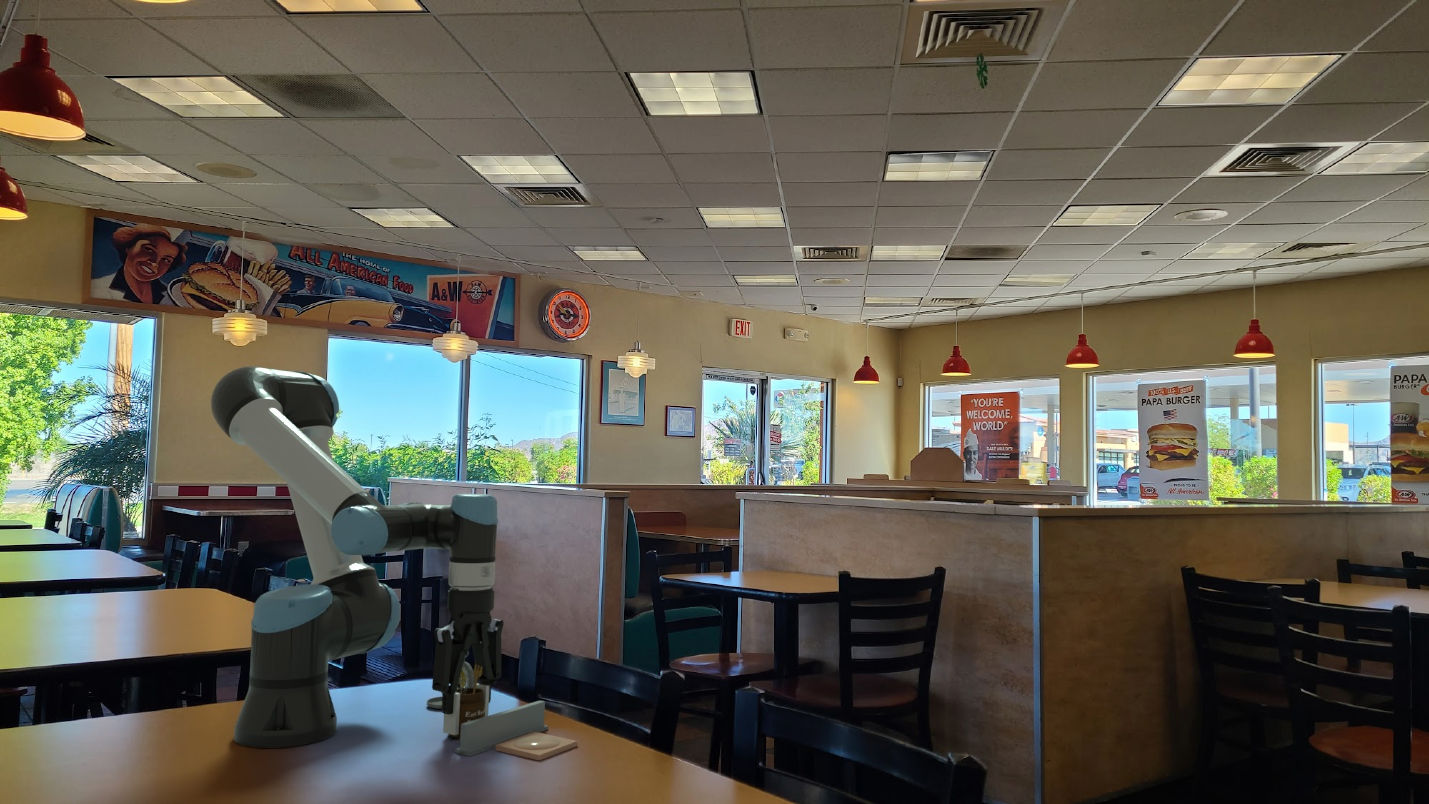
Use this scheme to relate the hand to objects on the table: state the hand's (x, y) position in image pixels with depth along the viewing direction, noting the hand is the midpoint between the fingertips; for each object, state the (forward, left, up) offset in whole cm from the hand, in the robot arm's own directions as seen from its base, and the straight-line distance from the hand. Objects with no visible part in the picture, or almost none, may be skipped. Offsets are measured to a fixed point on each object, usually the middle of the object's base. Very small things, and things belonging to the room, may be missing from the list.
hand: (465, 728), depth 156 cm
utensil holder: (0, 0, -1) cm, 1 cm away
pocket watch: (-16, +12, -1) cm, 20 cm away
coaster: (+15, +1, -1) cm, 15 cm away
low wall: (+8, +1, -1) cm, 8 cm away
